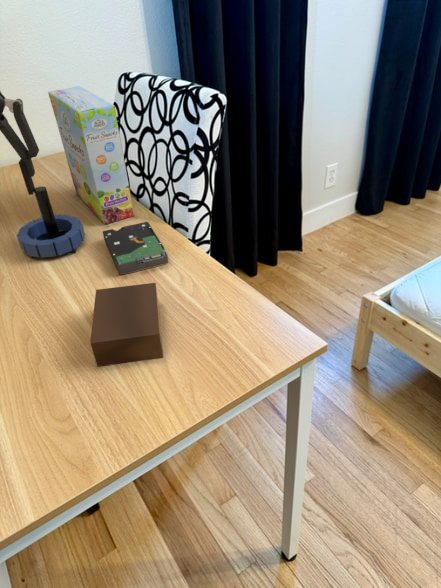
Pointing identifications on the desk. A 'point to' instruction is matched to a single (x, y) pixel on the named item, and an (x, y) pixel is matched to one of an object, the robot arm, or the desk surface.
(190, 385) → the desk surface
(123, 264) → the disk drive
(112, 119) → the snack box
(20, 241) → the ring
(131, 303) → the stand
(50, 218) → the post
